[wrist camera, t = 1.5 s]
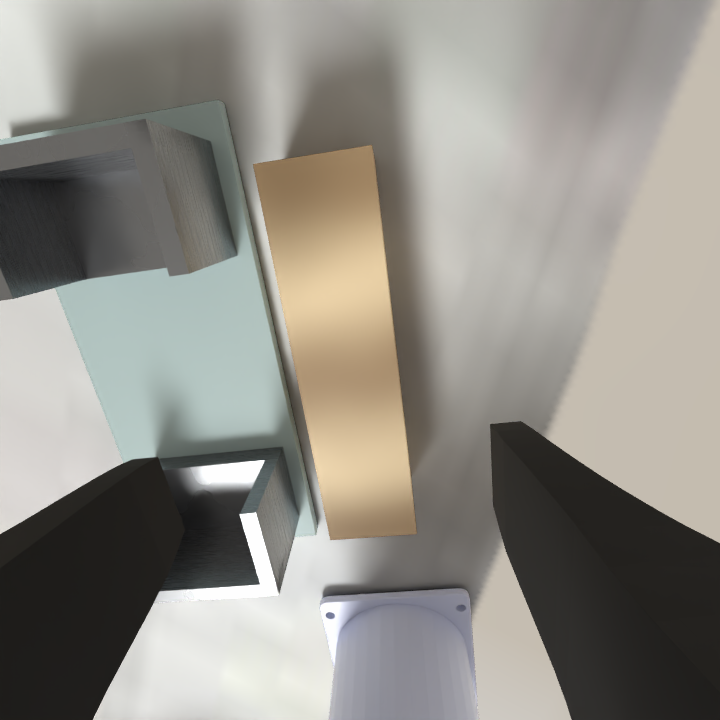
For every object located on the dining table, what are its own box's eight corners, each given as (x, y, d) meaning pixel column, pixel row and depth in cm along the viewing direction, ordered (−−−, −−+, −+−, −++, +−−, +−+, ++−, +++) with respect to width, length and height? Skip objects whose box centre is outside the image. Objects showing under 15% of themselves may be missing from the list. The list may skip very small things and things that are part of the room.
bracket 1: (50, 168, 16) (-69, 157, 12) (210, 140, 15) (145, 118, 11) (89, 276, 17) (-5, 301, 13) (237, 255, 16) (189, 274, 12)
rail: (410, 473, 21) (416, 534, 17) (339, 479, 21) (330, 540, 17) (374, 158, 16) (371, 144, 12) (283, 172, 16) (252, 164, 12)
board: (317, 526, 22) (315, 535, 21) (162, 538, 22) (156, 547, 22) (224, 103, 15) (218, 99, 15) (10, 142, 16) (-4, 140, 15)
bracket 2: (299, 516, 21) (278, 595, 17) (179, 526, 21) (130, 604, 17) (282, 446, 19) (255, 513, 15) (155, 459, 20) (95, 526, 16)
